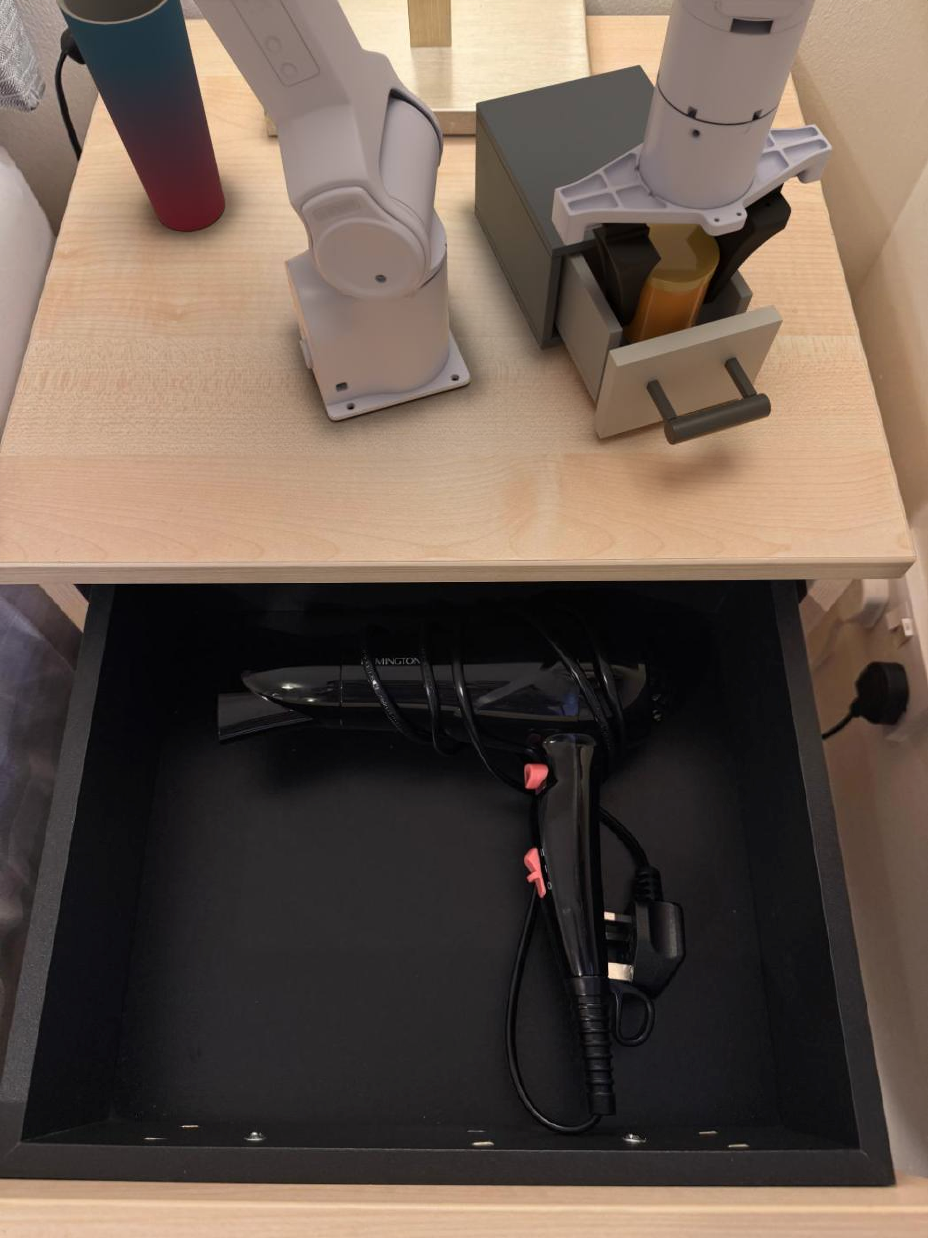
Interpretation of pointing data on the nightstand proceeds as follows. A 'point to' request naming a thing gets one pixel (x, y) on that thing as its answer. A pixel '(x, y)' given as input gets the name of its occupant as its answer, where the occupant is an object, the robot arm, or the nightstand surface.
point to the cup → (152, 101)
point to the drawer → (665, 358)
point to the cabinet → (549, 173)
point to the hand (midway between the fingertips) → (658, 303)
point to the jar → (674, 281)
